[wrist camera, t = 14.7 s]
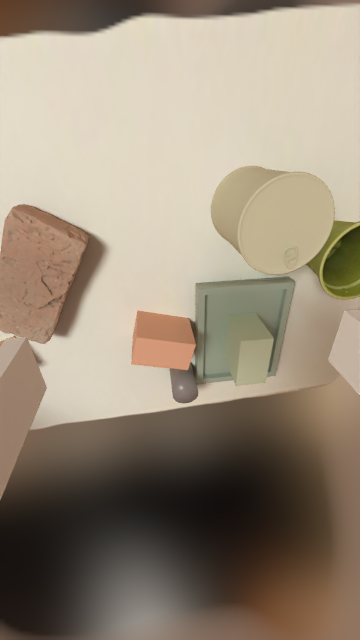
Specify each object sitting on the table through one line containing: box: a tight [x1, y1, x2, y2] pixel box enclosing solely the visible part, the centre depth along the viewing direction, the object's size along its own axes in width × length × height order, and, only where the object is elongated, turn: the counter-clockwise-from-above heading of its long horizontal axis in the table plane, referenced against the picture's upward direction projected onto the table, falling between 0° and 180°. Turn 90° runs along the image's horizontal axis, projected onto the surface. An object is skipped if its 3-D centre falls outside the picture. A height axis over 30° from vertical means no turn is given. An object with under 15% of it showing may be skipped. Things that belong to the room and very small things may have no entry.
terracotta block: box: [131, 311, 196, 370], centre depth 40 cm, size 4×8×7 cm, turn 77°
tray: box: [195, 277, 295, 384], centre depth 44 cm, size 14×18×2 cm
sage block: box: [224, 312, 274, 386], centre depth 41 cm, size 4×8×7 cm, turn 2°
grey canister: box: [170, 363, 198, 403], centre depth 45 cm, size 4×4×6 cm
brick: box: [0, 204, 89, 344], centre depth 35 cm, size 16×8×5 cm, turn 151°
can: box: [211, 166, 335, 275], centre depth 30 cm, size 9×9×12 cm
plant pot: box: [307, 220, 360, 299], centre depth 35 cm, size 9×9×9 cm
